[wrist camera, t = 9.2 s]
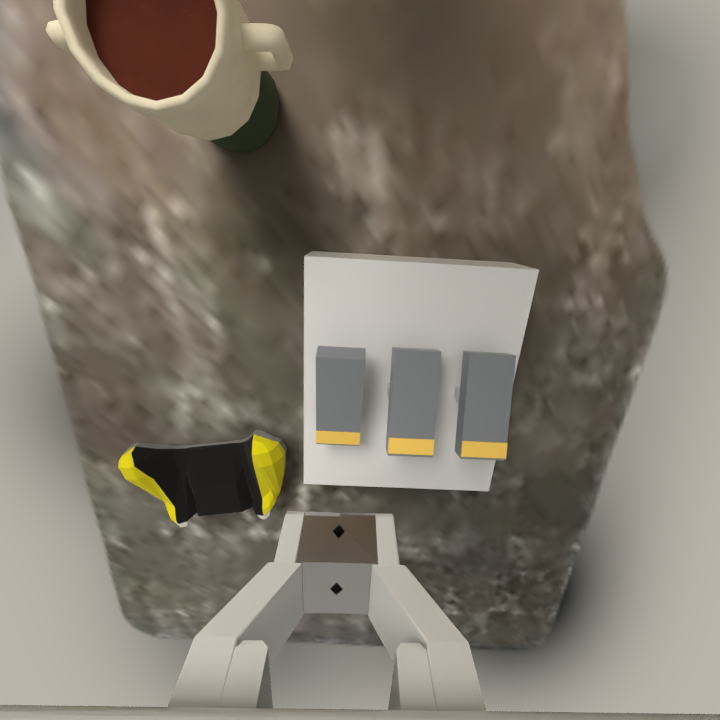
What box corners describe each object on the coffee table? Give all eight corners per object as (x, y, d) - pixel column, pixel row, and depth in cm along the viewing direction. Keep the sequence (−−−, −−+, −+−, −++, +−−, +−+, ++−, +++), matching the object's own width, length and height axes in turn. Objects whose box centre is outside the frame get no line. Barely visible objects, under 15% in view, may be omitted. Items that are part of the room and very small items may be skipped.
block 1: (317, 345, 26) (315, 357, 24) (365, 348, 26) (365, 360, 24) (318, 430, 30) (316, 445, 28) (359, 432, 30) (359, 446, 29)
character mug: (310, 47, 26) (268, -112, 13) (314, 161, 28) (281, 114, 16) (155, 44, 25) (-30, -119, 13) (173, 159, 28) (31, 111, 16)
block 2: (463, 350, 28) (470, 353, 26) (506, 353, 28) (516, 355, 26) (454, 450, 29) (460, 459, 27) (496, 452, 29) (505, 461, 27)
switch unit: (312, 250, 30) (301, 257, 25) (511, 262, 31) (547, 271, 25) (310, 453, 38) (301, 496, 32) (472, 460, 38) (493, 503, 32)
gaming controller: (138, 424, 36) (168, 502, 40) (102, 457, 31) (141, 543, 35) (285, 408, 36) (302, 489, 40) (273, 439, 31) (294, 529, 34)
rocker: (392, 347, 28) (394, 349, 26) (436, 349, 28) (441, 351, 26) (385, 447, 29) (387, 456, 27) (428, 449, 29) (432, 457, 27)
